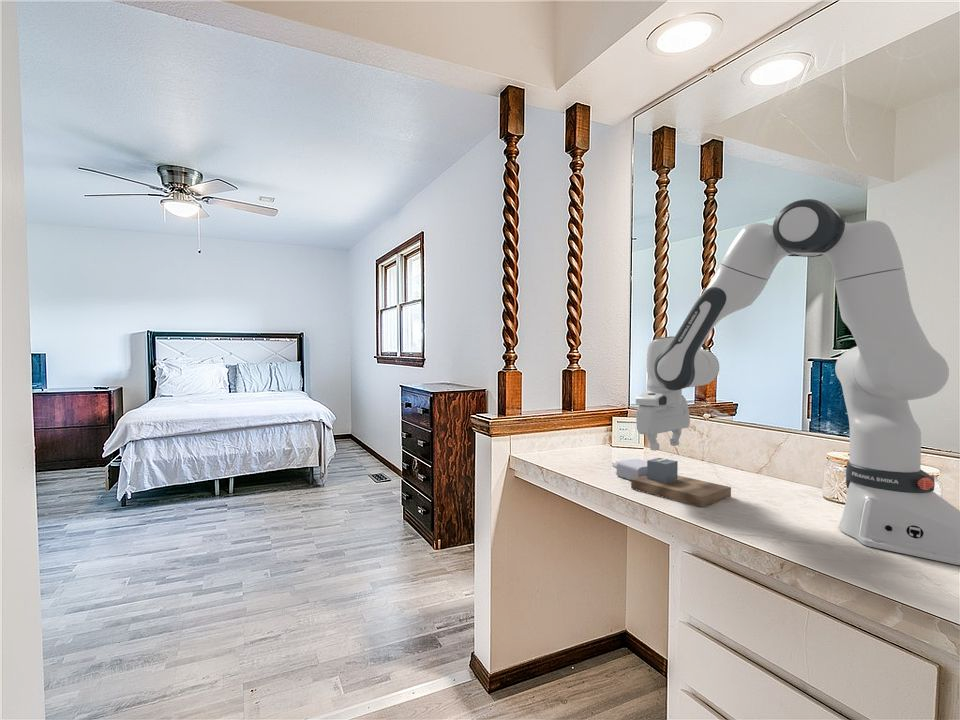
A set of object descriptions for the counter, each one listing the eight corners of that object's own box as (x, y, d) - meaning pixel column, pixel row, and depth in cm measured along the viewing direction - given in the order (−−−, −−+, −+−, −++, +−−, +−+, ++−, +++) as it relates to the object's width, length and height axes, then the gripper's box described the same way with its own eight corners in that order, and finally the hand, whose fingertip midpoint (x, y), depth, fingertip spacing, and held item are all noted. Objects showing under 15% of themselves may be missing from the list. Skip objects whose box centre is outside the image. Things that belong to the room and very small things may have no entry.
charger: (626, 469, 153) (662, 480, 140) (602, 472, 149) (637, 484, 136) (626, 454, 153) (662, 464, 140) (603, 457, 149) (637, 467, 136)
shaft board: (730, 496, 124) (731, 473, 124) (703, 507, 115) (703, 483, 115) (660, 480, 140) (660, 459, 139) (631, 488, 131) (631, 466, 131)
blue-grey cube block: (647, 478, 132) (647, 459, 132) (658, 475, 135) (658, 456, 135) (665, 483, 127) (666, 463, 127) (677, 479, 131) (677, 460, 131)
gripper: (674, 393, 140) (675, 441, 140) (631, 398, 127) (632, 451, 128) (695, 395, 135) (696, 444, 135) (652, 400, 122) (653, 454, 123)
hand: (664, 447), depth 131 cm, fingers open, 8 cm apart
